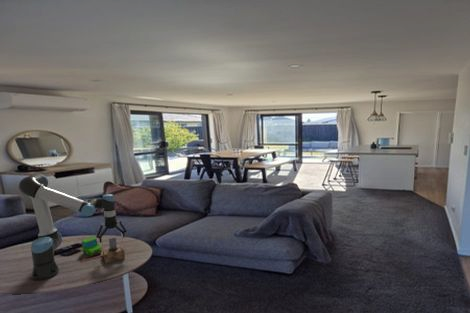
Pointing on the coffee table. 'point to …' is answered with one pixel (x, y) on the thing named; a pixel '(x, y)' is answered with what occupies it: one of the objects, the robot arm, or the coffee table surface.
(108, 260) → the wooden square frame
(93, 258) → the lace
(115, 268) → the coffee table surface
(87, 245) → the toy car
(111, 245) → the dark grey bar
